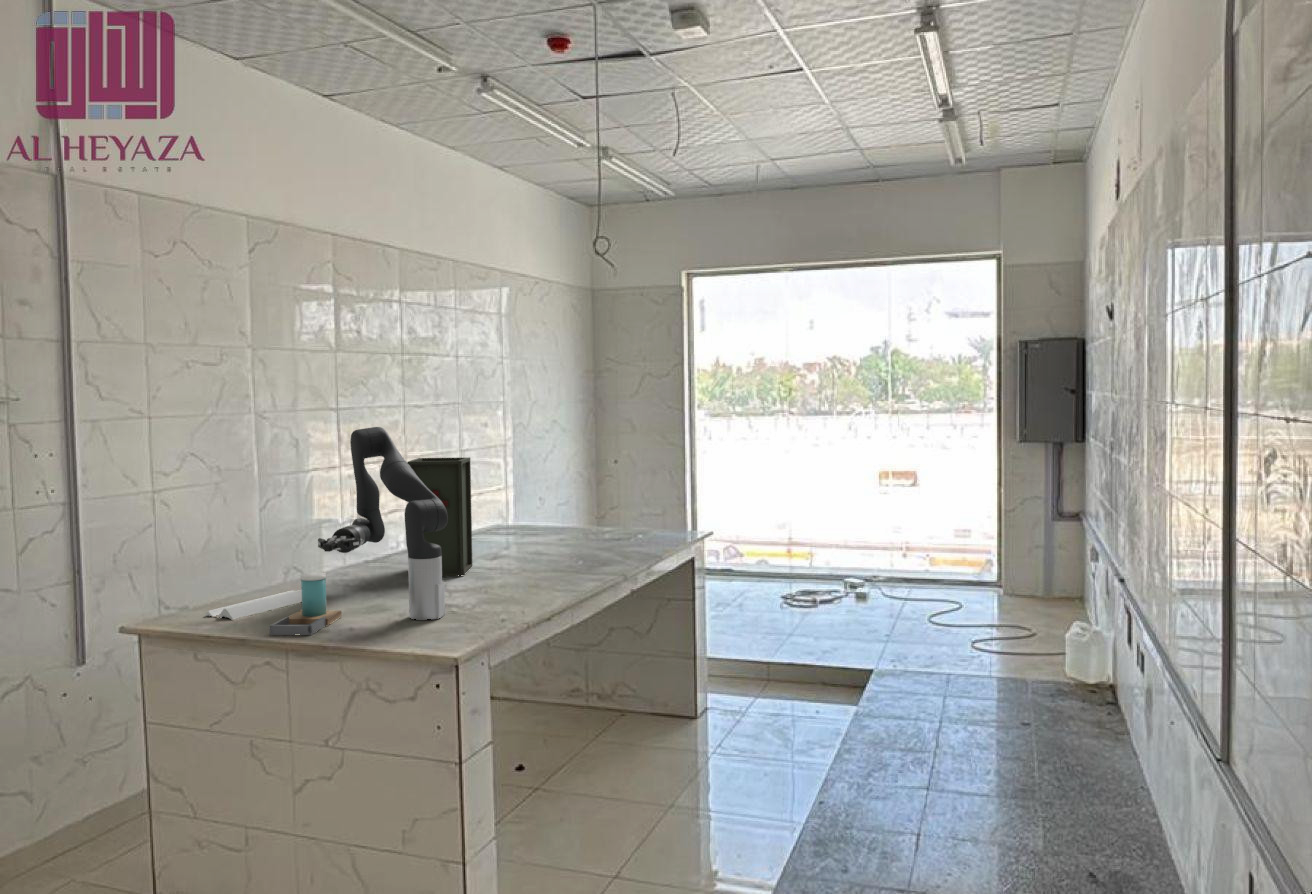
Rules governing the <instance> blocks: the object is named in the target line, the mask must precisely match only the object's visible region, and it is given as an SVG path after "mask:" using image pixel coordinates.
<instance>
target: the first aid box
mask: <svg viewBox="0 0 1312 894" xmlns="http://www.w3.org/2000/svg"><path fill="white" fill-rule="evenodd" d="M406 462H407V463H408V464H409V465H410V467H411V468H412V469H413V470H414V472H415V473H416V475H417V476H418V477H419V479H420V480H421V481H422V482H423V483H424V484H425V486H426V487H427V488H428V489H429V490H430V491H431V492H432V493H434V494H435V495H436V496H437V497H438V498H439V499H440V500H441V501H442V503H443V504H444V506H445V508H446V510H447V514H448V522H447V525H446V526H445V528H443V529H442V530H439V531H434V532H426V533H423V535H424V539H425V540H426V541H427V542H429V543H433V544H437V545H439V546H440V547H441V551H442V555H441V556H442V576H453V577H462V576H461V575H465V576H466V574H467V573H468V572H469V571H470V570H471V569H472V568H473V567H472V566H473V528H472V527H473V526H472V523H473V522H472V519H473V518H472V476H471V475H472V474H471V469H472V468H471V457H417V458H415V459H412V460H409V461H406ZM408 503H409V502H407V504H408ZM471 567H472V568H471ZM470 568H471V569H470ZM469 569H470V570H469ZM468 570H469V571H468ZM467 571H468V572H467ZM466 572H467V573H466ZM465 573H466V574H465ZM458 575H459V576H458Z"/></svg>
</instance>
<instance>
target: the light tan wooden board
mask: <svg viewBox="0 0 1312 894" xmlns="http://www.w3.org/2000/svg"><path fill="white" fill-rule="evenodd" d="M341 616H342V610H327V613H326V614H324V615H321V616H312V617H308V616H303V615H302V610H298V611H295V612H294V613H293V614H291V615H288V617H289V624H312V623H313V622H315V621H317V620H318V619H320V618H322V617H326V625H329V624H330V623H332V622H333V621H335V620H336V619H338V618H339V617H341ZM338 620H339V619H338ZM335 622H336V621H335ZM332 624H333V623H332ZM329 626H330V625H329Z"/></svg>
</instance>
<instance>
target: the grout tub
mask: <svg viewBox="0 0 1312 894" xmlns="http://www.w3.org/2000/svg"><path fill="white" fill-rule="evenodd" d="M299 579H300V583H301V585H300V586H301V589H300V590H301V591H302V603H301V611H302V615H303V616H308V617H312V616H321V615H324V614H326V613H327V611H328V610H327V586H326V585H327V584H326V583H327V582H326V580H327V573H326V572H308V573H303V574H300V575H299Z"/></svg>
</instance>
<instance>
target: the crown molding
mask: <svg viewBox="0 0 1312 894" xmlns="http://www.w3.org/2000/svg"><path fill="white" fill-rule="evenodd" d="M301 601H302V591H301V589H298V590H295V589H291V590H288V591H283V592H280V593H276V594H271V595H267V596H264V597H263V596H262V597H260V598H255V599H250V600H247V601H243V602H238V603H235V604H230V605H226V606H221V607H219V608H214V609H210V610H207V611H206V613H205V615H204V616H205V617H210V616H216V615H219V614H220V615H219V616H218V617H225V618H228V619H229V620H230V619H236V618H239V617H243V616H248V615H251V614H255V613H260V612H264V611H267V610H271V609H275V608H279V607H283V606H286V605H290V604H294V603H297V602H301Z"/></svg>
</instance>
